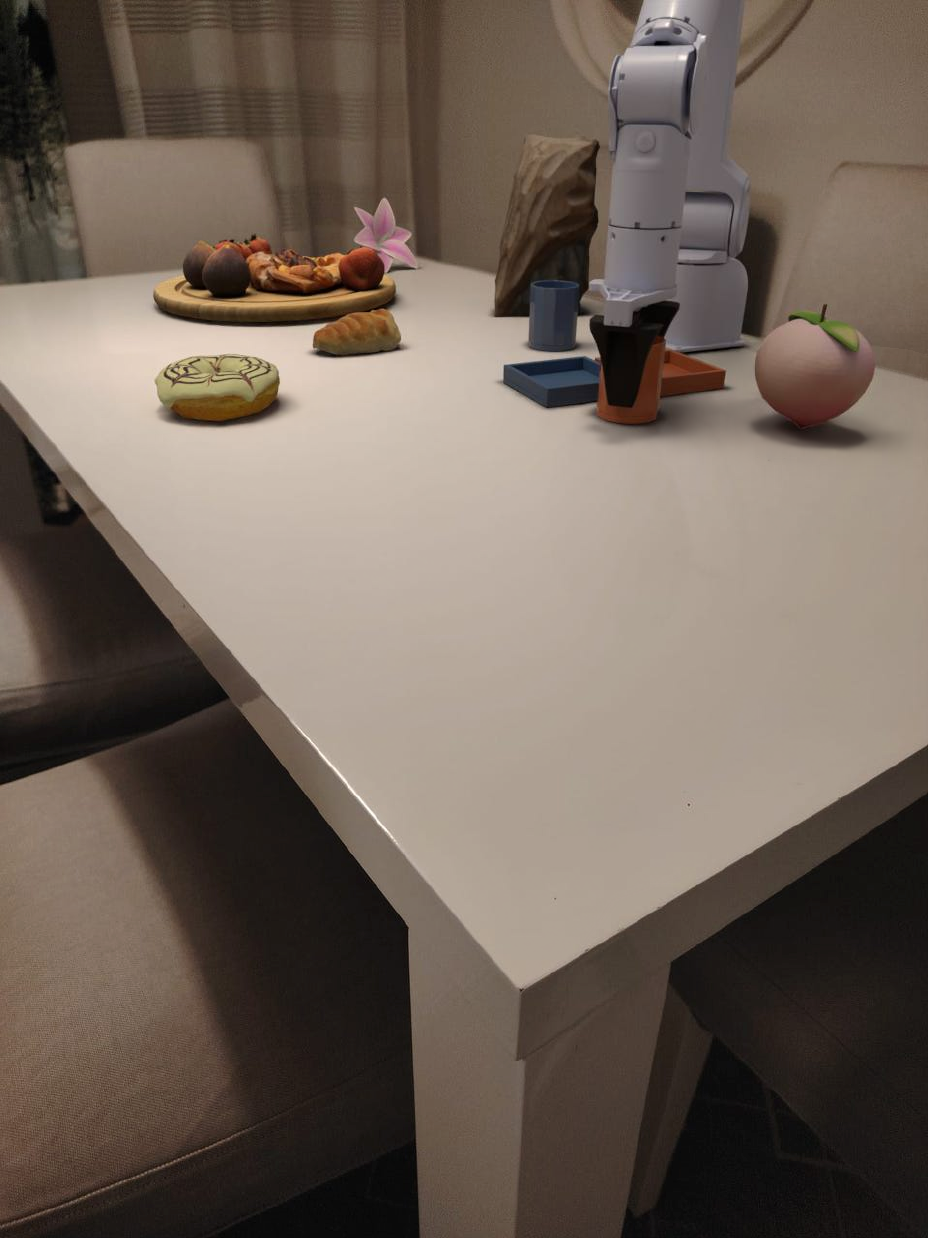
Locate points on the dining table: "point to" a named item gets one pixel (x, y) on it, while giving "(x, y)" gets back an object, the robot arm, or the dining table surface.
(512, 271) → the brown rock
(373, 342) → the pastry
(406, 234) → the lily
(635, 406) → the terracotta cup
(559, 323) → the blue cup
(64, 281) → the dining table surface
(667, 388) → the terracotta dish
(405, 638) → the dining table surface
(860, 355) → the decorative fruit
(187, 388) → the decorated donut
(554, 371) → the blue dish
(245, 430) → the dining table surface
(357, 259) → the wooden plate
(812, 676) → the dining table surface
